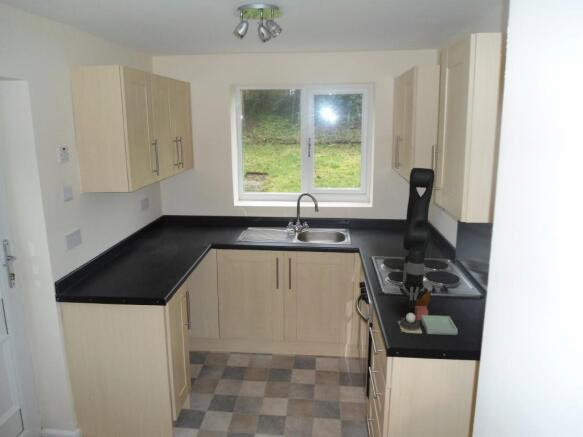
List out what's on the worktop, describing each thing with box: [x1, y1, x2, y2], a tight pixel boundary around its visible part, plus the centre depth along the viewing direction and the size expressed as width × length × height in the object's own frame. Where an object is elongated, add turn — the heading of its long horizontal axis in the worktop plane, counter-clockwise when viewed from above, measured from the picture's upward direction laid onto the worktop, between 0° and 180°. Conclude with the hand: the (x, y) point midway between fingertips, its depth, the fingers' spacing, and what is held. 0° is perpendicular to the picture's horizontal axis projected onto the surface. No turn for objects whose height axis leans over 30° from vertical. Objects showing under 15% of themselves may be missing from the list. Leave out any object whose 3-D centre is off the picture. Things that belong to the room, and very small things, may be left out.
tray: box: [420, 314, 458, 336], centre depth 207 cm, size 13×13×3 cm
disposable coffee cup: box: [416, 280, 434, 309], centre depth 227 cm, size 10×10×12 cm
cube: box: [413, 306, 429, 321], centre depth 215 cm, size 5×5×5 cm
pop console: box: [397, 316, 423, 334], centre depth 205 cm, size 9×9×4 cm
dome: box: [405, 312, 416, 324], centre depth 204 cm, size 4×4×4 cm
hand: (411, 307), depth 203 cm, fingers closed
